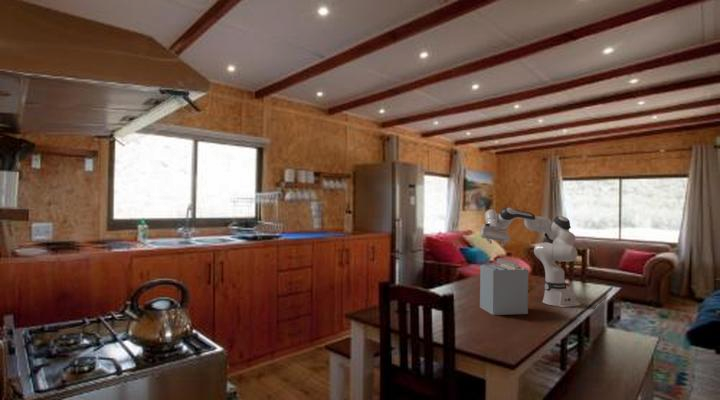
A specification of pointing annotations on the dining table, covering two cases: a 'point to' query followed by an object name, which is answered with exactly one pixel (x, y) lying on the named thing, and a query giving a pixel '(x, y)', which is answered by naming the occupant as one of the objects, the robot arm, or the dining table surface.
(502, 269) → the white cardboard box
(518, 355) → the dining table surface
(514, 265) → the gauge bar
